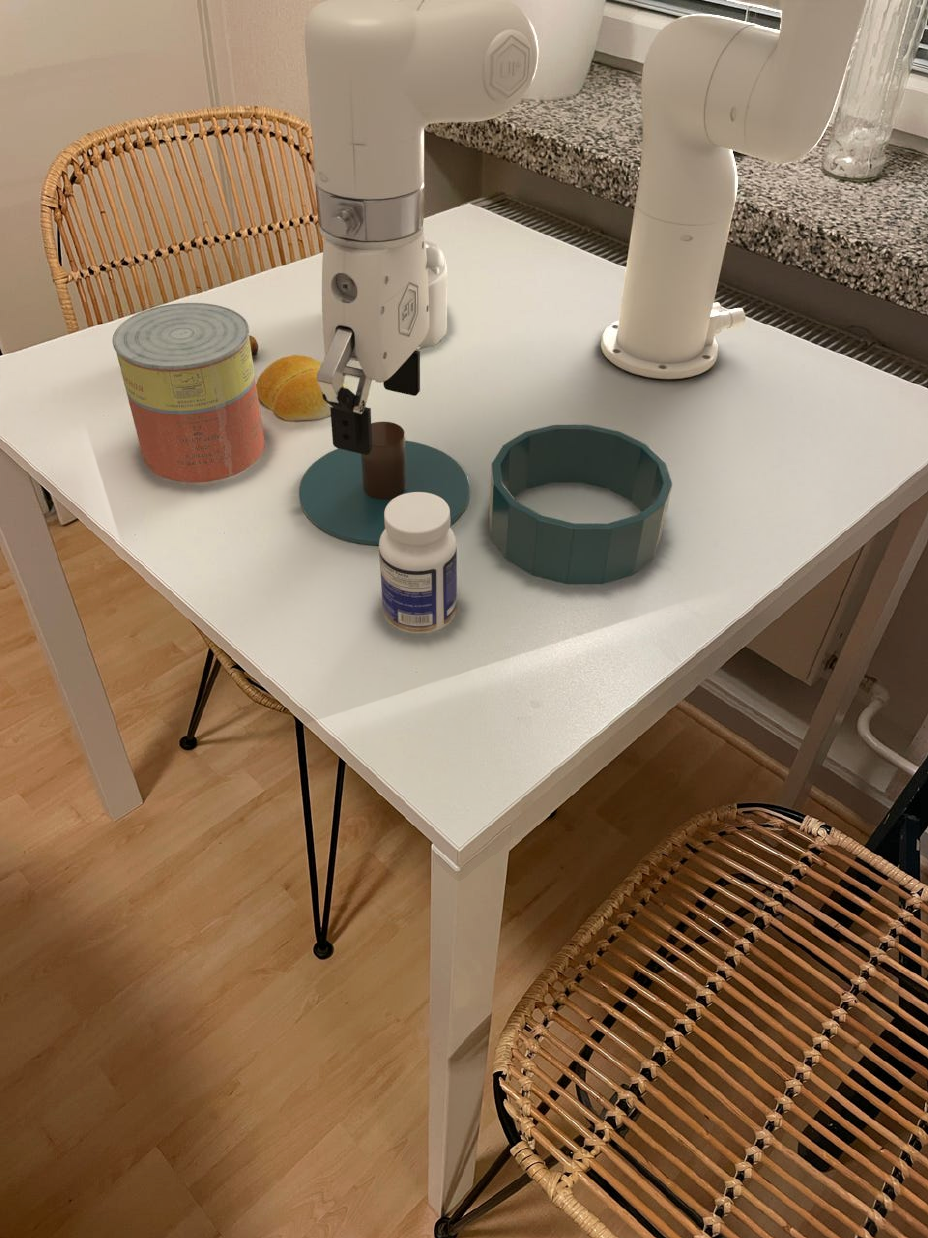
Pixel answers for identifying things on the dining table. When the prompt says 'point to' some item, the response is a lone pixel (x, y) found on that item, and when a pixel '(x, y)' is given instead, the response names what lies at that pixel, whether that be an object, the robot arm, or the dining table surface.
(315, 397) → the bread roll
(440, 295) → the lumpy-topped squat cylinder
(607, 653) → the dining table surface
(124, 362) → the canned food
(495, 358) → the dining table surface
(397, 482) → the lid
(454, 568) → the pill bottle
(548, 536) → the pot
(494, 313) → the dining table surface
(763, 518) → the dining table surface
